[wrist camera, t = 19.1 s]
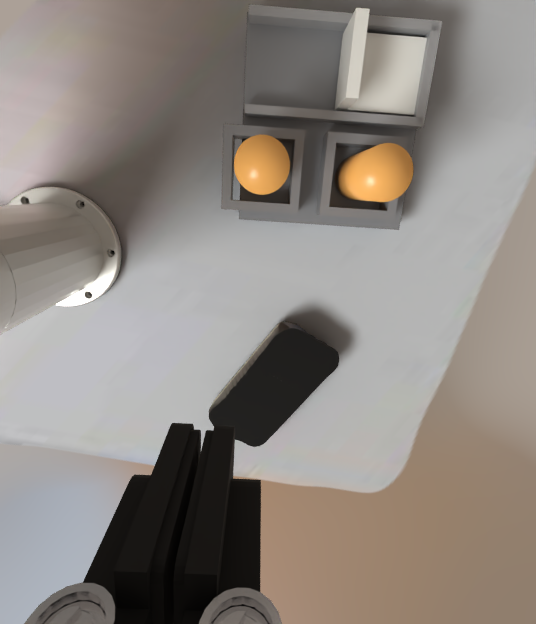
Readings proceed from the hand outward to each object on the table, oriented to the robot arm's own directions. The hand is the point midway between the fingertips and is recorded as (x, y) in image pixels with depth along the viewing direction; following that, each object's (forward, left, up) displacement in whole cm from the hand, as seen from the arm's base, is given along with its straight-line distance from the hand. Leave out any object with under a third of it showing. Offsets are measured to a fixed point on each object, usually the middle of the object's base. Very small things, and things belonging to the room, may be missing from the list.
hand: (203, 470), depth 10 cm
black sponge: (+4, -14, -33) cm, 36 cm away
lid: (+11, +17, -29) cm, 35 cm away
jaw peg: (+10, +9, -29) cm, 32 cm away
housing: (+7, +13, -32) cm, 35 cm away
